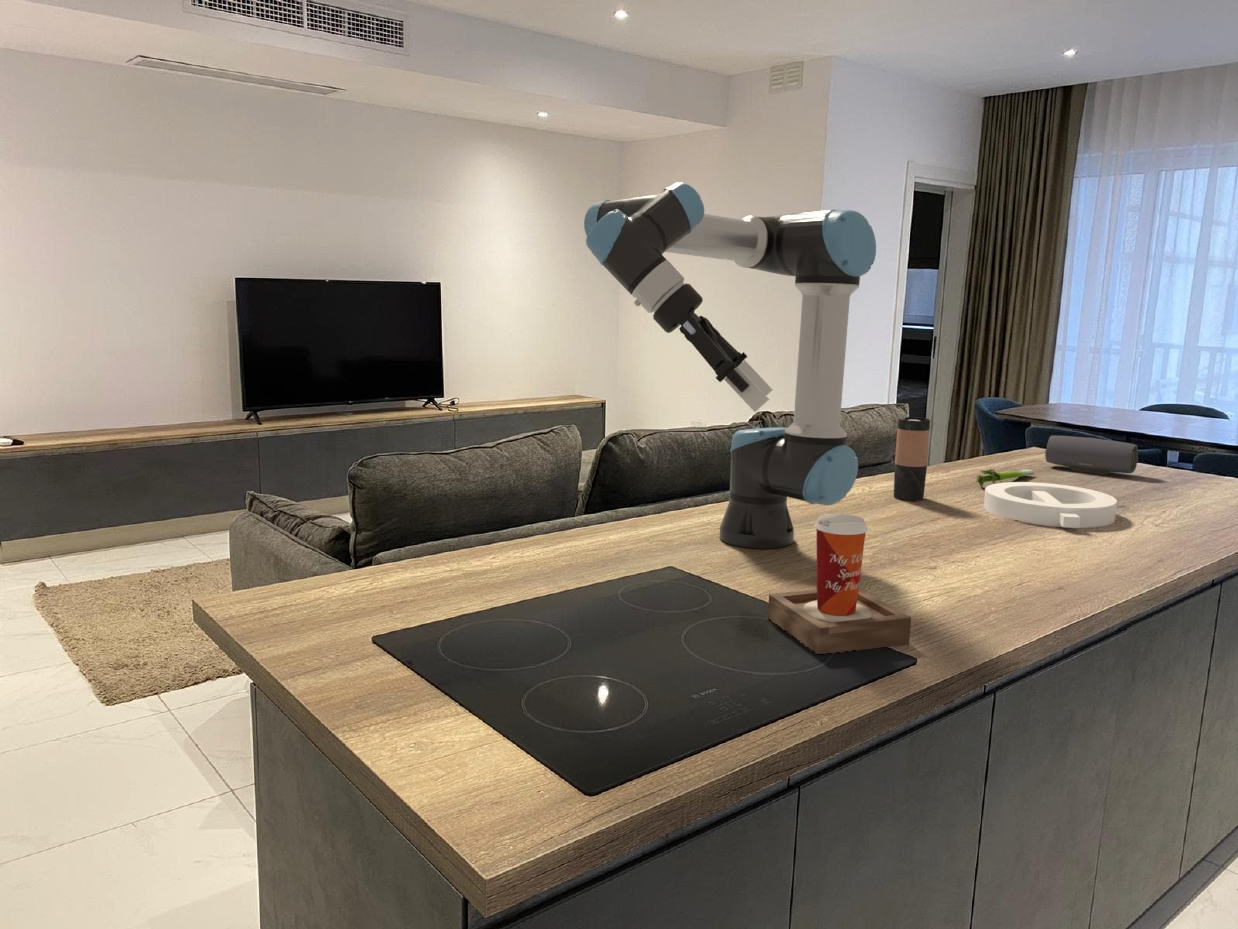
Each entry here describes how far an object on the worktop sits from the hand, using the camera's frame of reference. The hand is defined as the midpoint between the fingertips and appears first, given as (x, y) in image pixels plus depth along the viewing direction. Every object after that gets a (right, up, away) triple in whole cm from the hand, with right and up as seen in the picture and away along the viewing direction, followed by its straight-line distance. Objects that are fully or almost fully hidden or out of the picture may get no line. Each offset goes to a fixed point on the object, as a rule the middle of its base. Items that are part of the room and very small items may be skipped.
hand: (764, 400), depth 136 cm
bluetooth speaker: (+116, -12, +127) cm, 173 cm away
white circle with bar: (+79, -22, +76) cm, 112 cm away
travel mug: (+51, -18, +89) cm, 104 cm away
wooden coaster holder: (+11, -35, -1) cm, 36 cm away
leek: (+84, -15, +110) cm, 139 cm away
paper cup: (+11, -32, -2) cm, 33 cm away
